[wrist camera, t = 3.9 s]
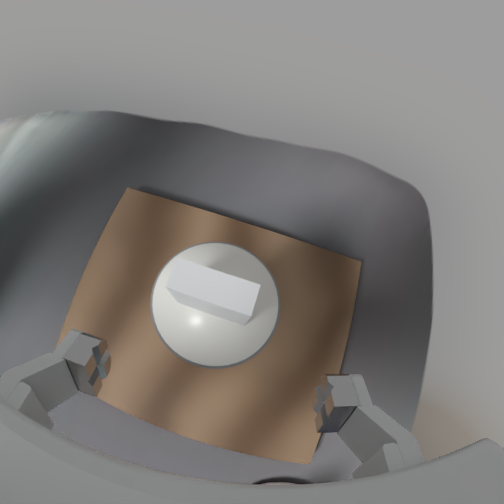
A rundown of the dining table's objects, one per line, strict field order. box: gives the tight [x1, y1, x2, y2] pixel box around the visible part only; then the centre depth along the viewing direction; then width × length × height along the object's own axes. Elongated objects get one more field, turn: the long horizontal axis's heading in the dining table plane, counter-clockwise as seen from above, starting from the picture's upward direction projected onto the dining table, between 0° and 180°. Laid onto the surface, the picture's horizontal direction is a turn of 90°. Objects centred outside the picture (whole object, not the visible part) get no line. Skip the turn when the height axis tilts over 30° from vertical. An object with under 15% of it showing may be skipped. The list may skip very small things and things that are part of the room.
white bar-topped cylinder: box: [150, 242, 281, 369], centre depth 12 cm, size 5×5×11 cm
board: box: [56, 187, 361, 464], centre depth 18 cm, size 20×16×1 cm
